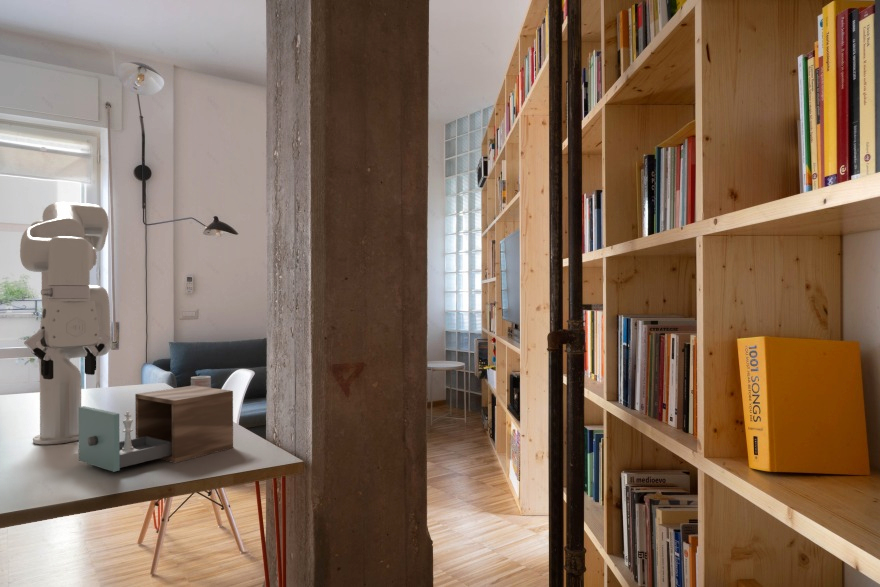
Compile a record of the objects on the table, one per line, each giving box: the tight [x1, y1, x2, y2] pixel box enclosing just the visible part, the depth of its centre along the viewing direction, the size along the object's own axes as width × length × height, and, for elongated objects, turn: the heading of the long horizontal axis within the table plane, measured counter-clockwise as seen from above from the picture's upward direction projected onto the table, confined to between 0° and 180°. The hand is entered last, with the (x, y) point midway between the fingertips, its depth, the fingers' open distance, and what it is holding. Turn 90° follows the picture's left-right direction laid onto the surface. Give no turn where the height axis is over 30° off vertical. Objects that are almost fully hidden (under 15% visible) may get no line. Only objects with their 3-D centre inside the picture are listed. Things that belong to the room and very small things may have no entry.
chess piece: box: [120, 411, 138, 454], centre depth 134 cm, size 5×5×10 cm
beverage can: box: [190, 375, 212, 388], centre depth 172 cm, size 6×6×15 cm
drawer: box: [78, 405, 172, 473], centre depth 134 cm, size 16×16×12 cm
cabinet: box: [134, 385, 234, 463], centre depth 146 cm, size 17×16×15 cm
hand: (69, 376), depth 124 cm, fingers open, 7 cm apart
